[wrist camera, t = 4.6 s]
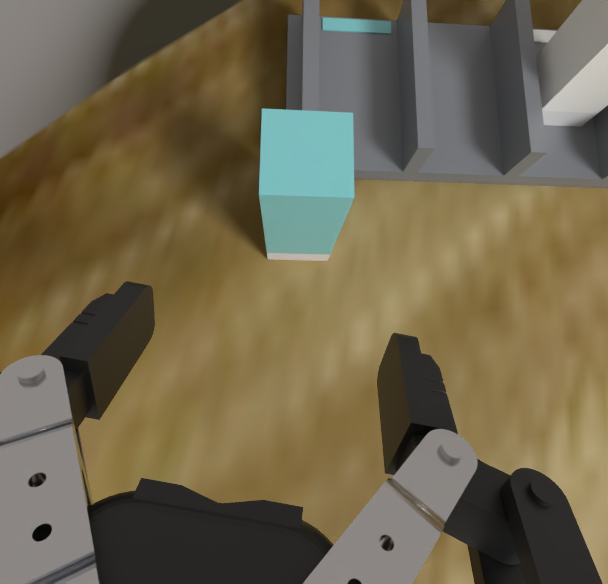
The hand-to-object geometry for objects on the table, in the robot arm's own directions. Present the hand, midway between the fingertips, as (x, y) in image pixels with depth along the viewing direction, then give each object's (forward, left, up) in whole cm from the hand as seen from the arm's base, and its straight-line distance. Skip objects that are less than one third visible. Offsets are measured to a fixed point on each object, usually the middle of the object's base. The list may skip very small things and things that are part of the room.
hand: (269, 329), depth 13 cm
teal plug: (-1, -8, -12) cm, 15 cm away
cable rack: (-12, -18, -12) cm, 25 cm away
